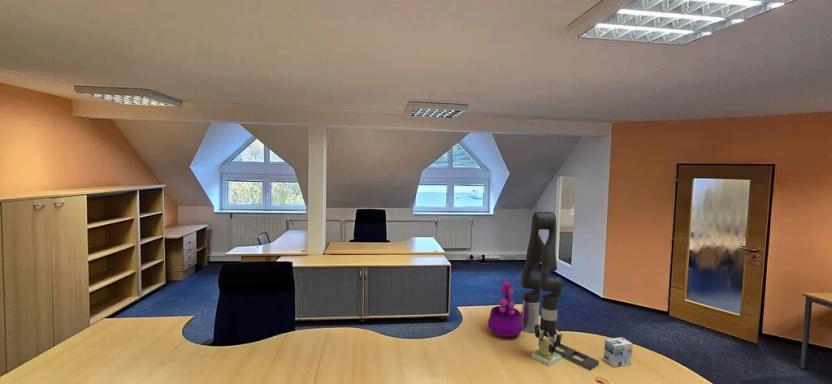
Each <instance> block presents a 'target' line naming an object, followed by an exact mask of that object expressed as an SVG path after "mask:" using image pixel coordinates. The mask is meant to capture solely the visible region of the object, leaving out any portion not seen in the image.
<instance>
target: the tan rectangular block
mask: <svg viewBox="0 0 832 384" xmlns="http://www.w3.org/2000/svg"><path fill="white" fill-rule="evenodd" d="M538 347H539V348H538V349H539V356H540V357H542V358H544V359H546V360H548V361H549V360H550V359H552V358H554V353H551V342H550V341H549V338H547V337H544V338H543V340H540V343H539V342H538Z"/></svg>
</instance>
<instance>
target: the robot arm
mask: <svg viewBox="0 0 832 384" xmlns="http://www.w3.org/2000/svg"><path fill="white" fill-rule="evenodd" d="M540 230H544V231H545V230H546V231H547V230H548V237H547V240H546V242H545V243H544V241H543V239H542V238H541V236H540V234H539V231H540ZM556 243H557V217H556V214H555V212H553V211H534V213H533V215H532V219H531V227H530V234H529V241H528V246H527V251H526V257H525V262H524V263H525V264H524V267H523V270H522V273H521V278H520V285H521V286H522V288H523V289H527V290H530V291H527V292H525V293H523V295H522V309H521V311H520V314H521V321H522V331H524V332H527V333H534V335H535V338H537V339H538V344H539V343H540V340H543V339H545V338H546V339H549V341H550V342H551V353H554V352H555V349H557V348H558V347H557V346H559V345H560V343H562V337H563V334H562V333H558V332H557V327H558V325H557V323H558V302H559V299H560V296H561V294H562V290H563V289H564V288H563V287H564V282H563V279H562V278H561V277H559V276H551V275H550V276H549V273H551V272H556V271H557V269H558V265H557V263H558V262H557V255H556V254H557V252H556V251H557V249H556V247H557V245H556ZM539 265H541V270H540V271H541V272H536V271H535V272H532V271H533V270H534V269H536V268H537V267H538V266H539ZM542 291H543V292H550V293H548V294H545V295H543V296H542V300H541V292H542ZM540 301H541V303H540ZM540 304H541V311H540ZM539 318H540V319H539ZM539 321H540V322H539ZM539 323H540V324H539Z"/></svg>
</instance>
